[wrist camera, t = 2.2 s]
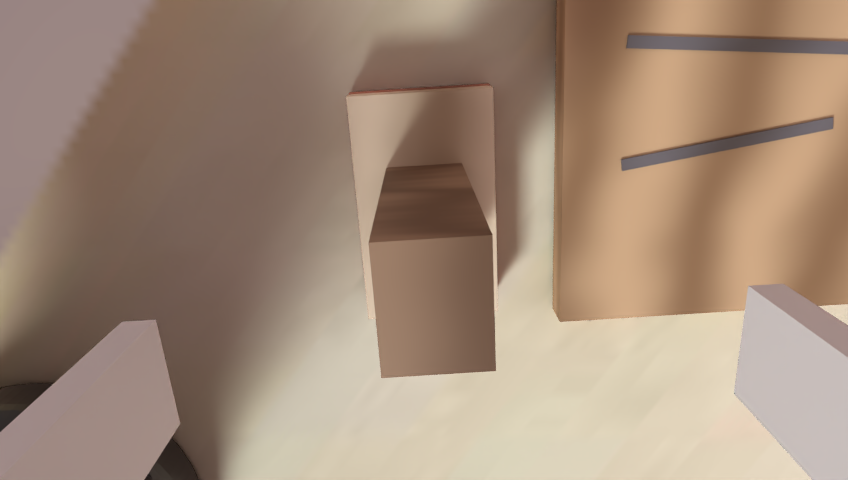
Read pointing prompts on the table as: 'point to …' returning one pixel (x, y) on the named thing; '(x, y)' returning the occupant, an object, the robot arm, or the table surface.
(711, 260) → the board
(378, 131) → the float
